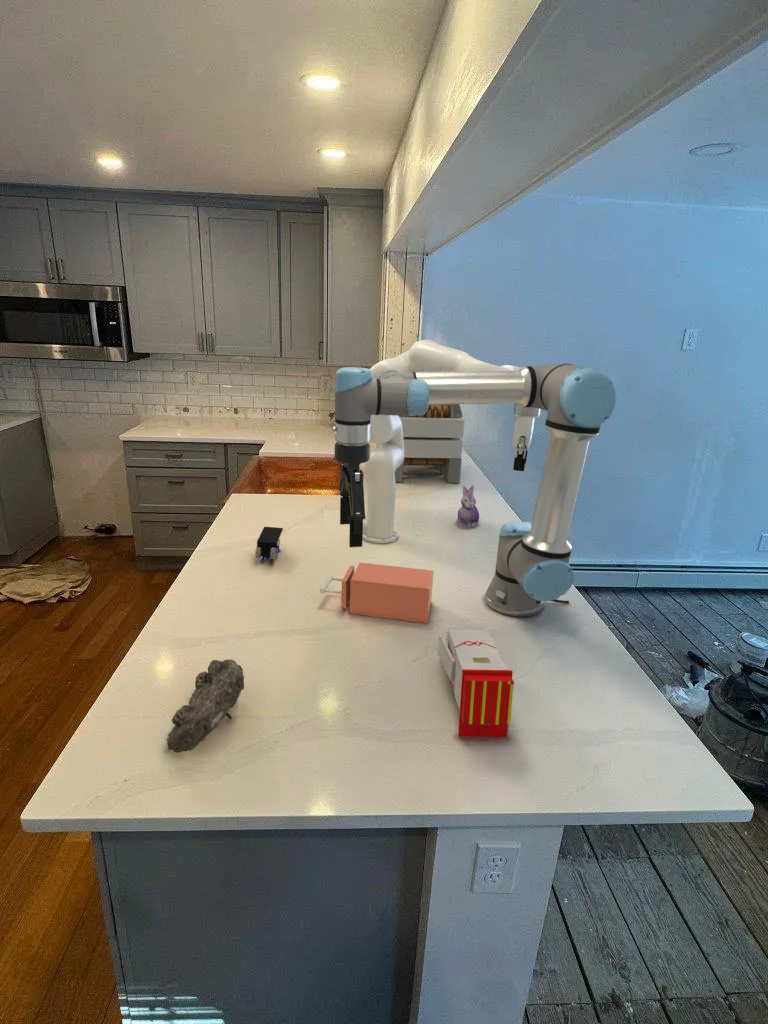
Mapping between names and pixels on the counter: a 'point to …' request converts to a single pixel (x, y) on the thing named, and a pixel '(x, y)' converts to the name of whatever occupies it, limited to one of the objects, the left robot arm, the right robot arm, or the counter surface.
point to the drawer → (345, 586)
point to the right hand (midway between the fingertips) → (350, 534)
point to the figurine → (468, 509)
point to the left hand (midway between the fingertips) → (519, 466)
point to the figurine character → (268, 543)
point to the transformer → (434, 440)
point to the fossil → (206, 705)
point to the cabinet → (391, 592)
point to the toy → (478, 682)
